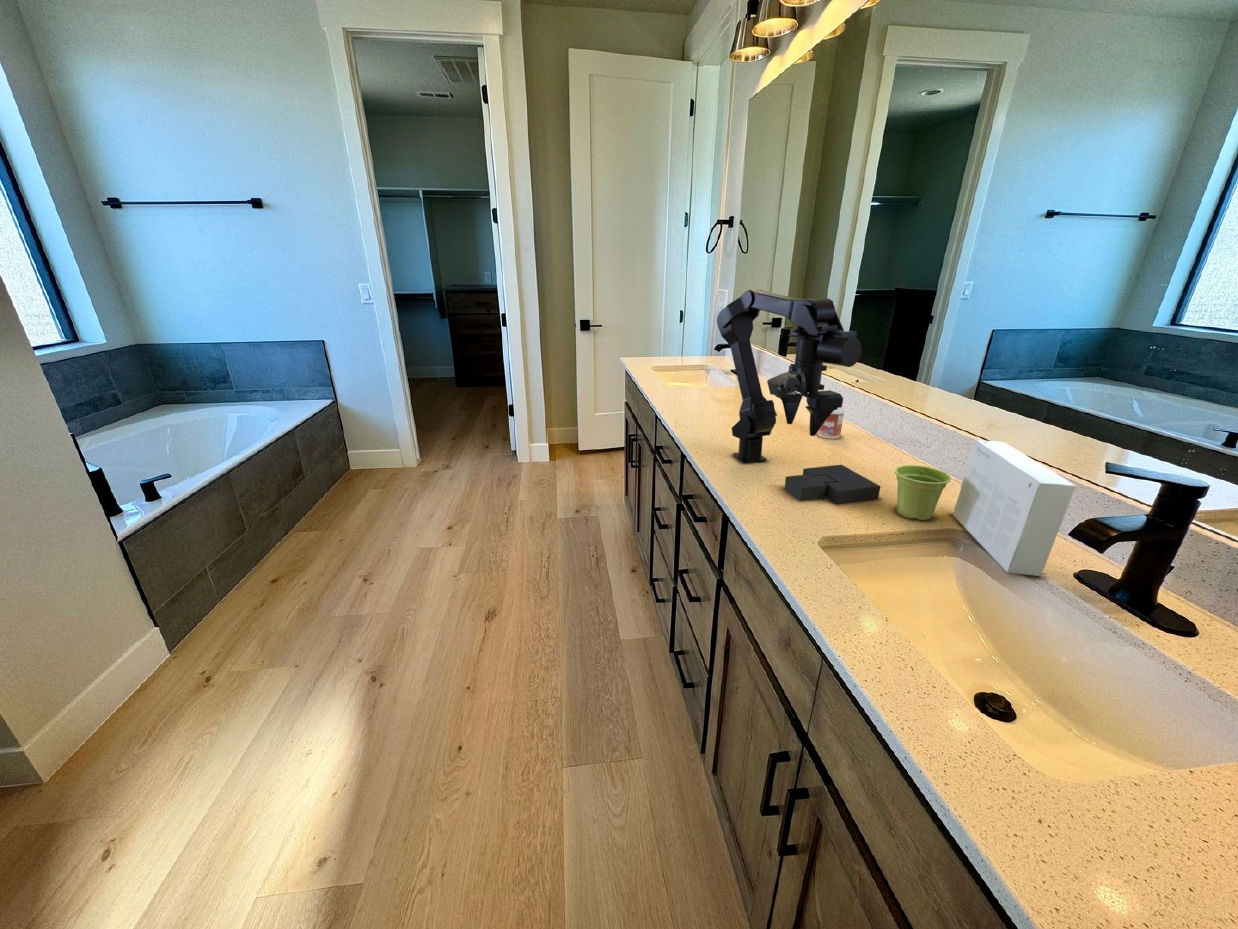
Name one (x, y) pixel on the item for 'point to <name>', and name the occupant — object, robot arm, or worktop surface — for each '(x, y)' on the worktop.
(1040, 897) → the worktop surface
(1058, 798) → the worktop surface
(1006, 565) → the skincare box
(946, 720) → the worktop surface
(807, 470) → the charcoal pad
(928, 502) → the plant pot
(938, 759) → the worktop surface
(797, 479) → the black pad
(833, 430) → the pill bottle
